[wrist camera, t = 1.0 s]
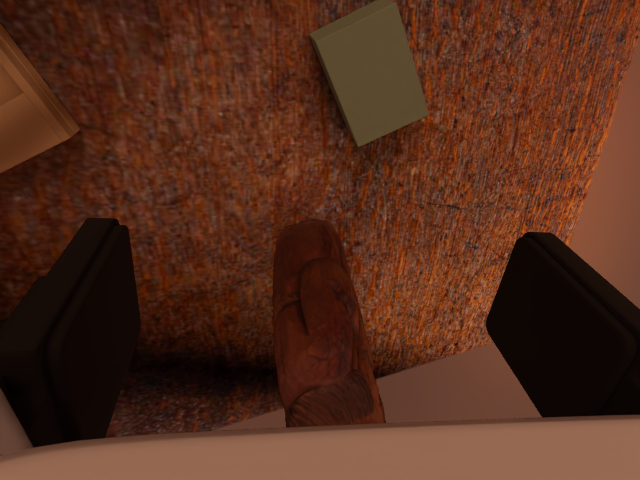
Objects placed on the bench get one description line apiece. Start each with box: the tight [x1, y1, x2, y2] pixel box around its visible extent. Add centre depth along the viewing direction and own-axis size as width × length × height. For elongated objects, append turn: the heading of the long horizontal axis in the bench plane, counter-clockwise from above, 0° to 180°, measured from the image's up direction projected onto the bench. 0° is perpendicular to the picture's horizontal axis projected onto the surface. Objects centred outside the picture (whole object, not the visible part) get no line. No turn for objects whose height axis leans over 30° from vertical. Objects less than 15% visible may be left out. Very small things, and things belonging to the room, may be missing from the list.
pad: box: [309, 0, 429, 147], centre depth 29 cm, size 7×5×4 cm
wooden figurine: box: [273, 220, 386, 428], centre depth 31 cm, size 12×6×18 cm, turn 10°
